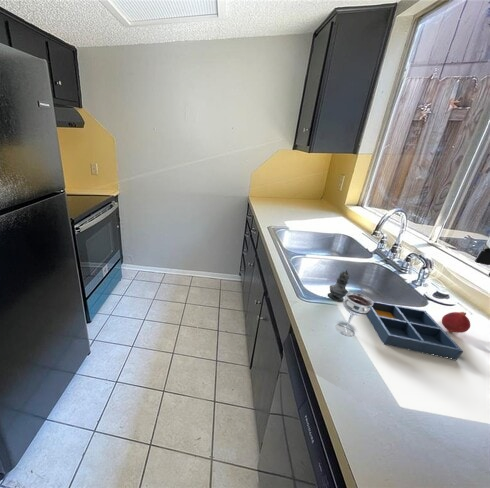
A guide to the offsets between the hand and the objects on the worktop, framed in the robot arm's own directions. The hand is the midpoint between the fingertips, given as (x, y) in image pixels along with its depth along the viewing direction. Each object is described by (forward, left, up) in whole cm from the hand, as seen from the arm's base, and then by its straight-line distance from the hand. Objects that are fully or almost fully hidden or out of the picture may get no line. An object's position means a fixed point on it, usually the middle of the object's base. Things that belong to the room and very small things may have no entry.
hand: (488, 270), depth 76 cm
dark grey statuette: (+34, -2, -21) cm, 40 cm away
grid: (+18, +10, -21) cm, 29 cm away
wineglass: (+36, +16, -21) cm, 44 cm away
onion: (+3, +5, -21) cm, 22 cm away
